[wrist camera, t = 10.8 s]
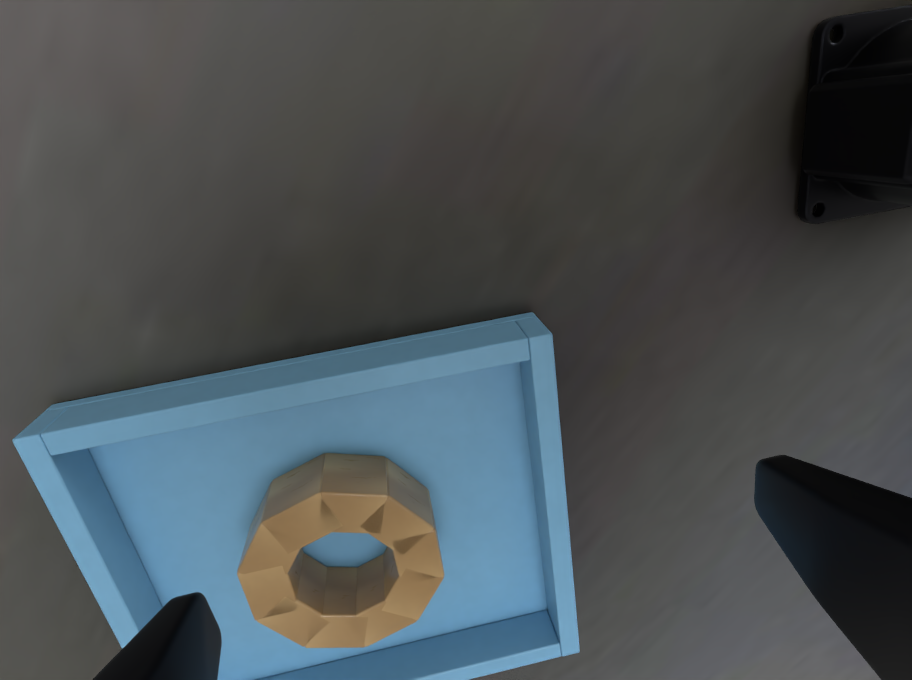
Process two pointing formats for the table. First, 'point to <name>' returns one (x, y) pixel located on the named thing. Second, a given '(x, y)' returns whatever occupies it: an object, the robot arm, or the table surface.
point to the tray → (283, 449)
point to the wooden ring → (341, 588)
